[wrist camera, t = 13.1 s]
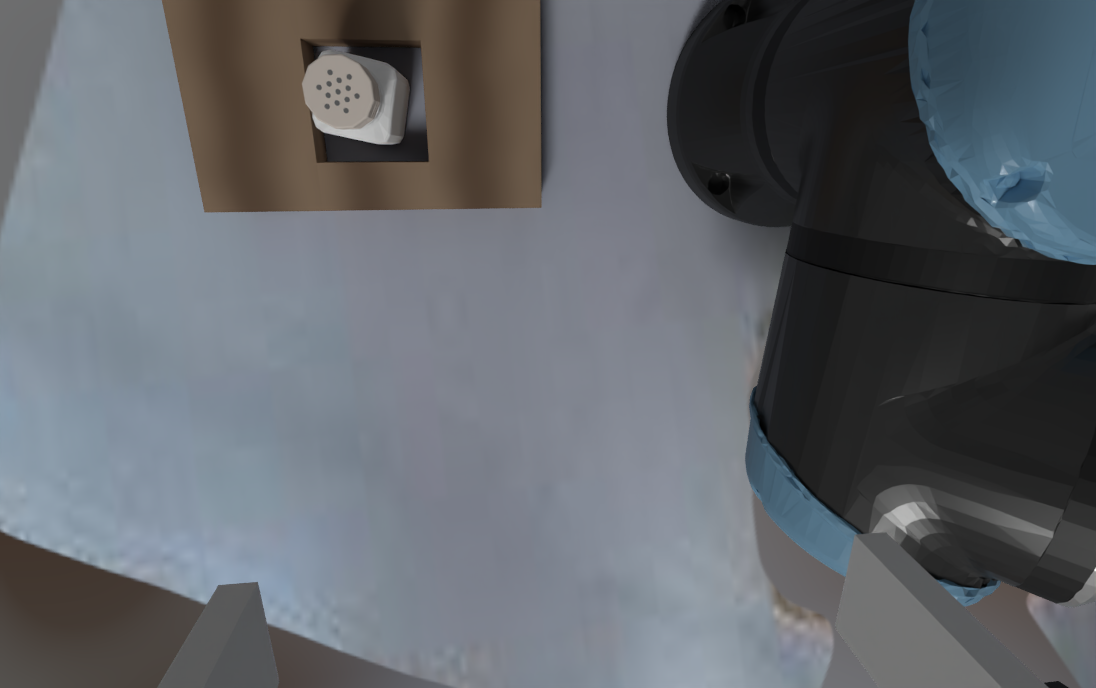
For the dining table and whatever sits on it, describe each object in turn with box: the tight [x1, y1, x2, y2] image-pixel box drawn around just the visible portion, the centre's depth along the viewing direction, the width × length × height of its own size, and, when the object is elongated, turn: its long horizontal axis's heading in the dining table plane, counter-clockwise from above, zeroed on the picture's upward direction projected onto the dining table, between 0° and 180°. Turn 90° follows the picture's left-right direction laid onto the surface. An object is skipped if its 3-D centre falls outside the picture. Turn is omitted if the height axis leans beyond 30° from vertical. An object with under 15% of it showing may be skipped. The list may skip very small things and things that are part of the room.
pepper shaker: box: [302, 49, 410, 145], centre depth 30 cm, size 4×4×10 cm
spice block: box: [162, 0, 541, 212], centre depth 33 cm, size 20×12×2 cm, turn 90°
